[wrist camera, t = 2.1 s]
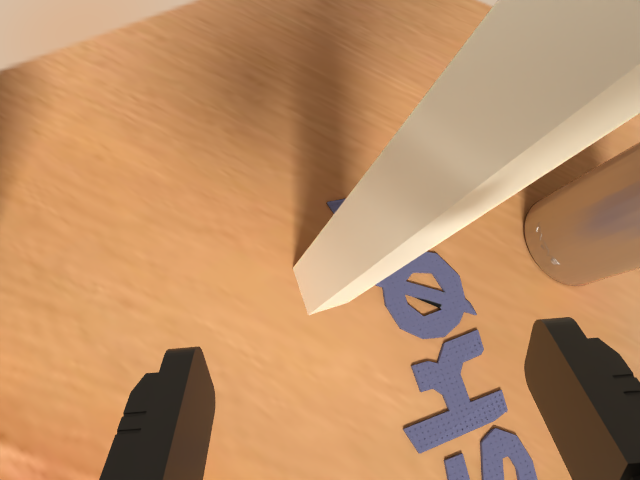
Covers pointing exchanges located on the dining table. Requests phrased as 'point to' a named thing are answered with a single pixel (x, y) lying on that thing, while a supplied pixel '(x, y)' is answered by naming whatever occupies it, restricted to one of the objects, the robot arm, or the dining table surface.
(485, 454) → the signage
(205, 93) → the dining table surface
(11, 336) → the dining table surface
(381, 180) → the stand
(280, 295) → the dining table surface
